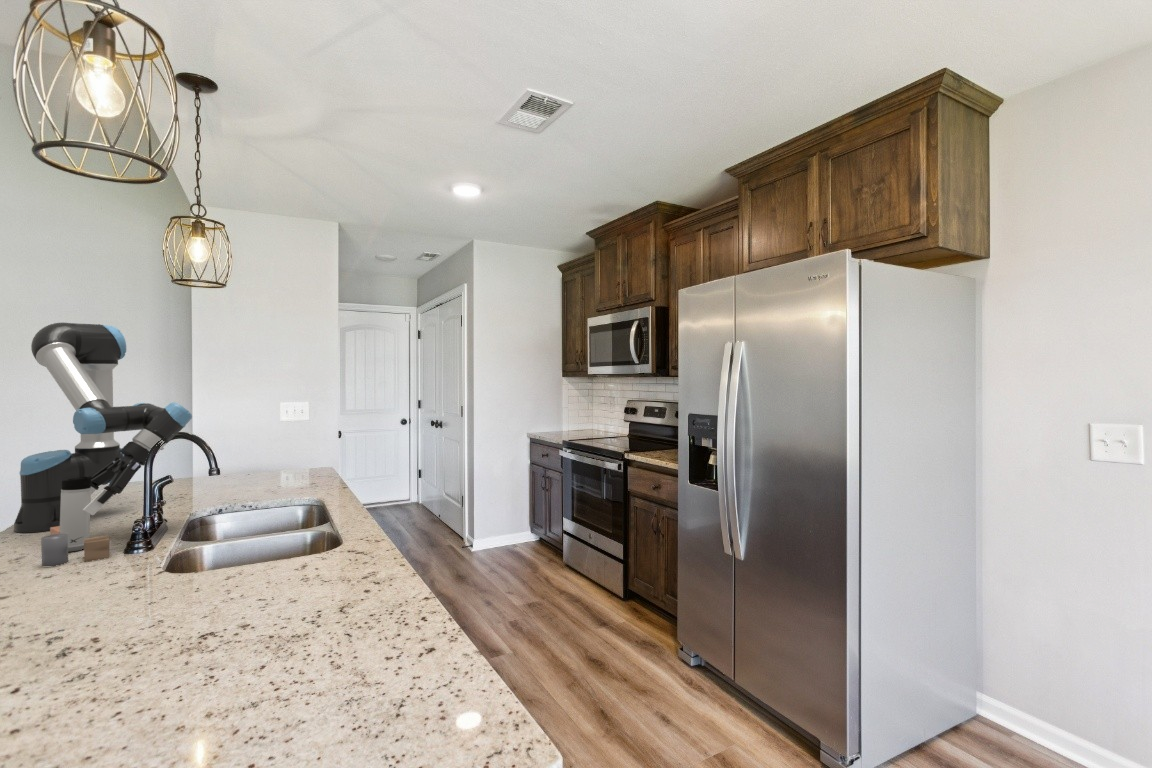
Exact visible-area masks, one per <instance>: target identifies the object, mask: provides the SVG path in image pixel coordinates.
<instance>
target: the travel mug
mask: <svg viewBox="0 0 1152 768" xmlns="http://www.w3.org/2000/svg"><path fill="white" fill-rule="evenodd" d="M91 479H92V476H87V477H80V478H72V479H68V480H62V484H61V486H62V487H61V491H62V492H61V505H60V534H68V553H70V552H77V551H81V550H82V549H83V550H84V539H87V538H91V537H90V530H91V527H90V526H91V514H89V513H87V512H86V511H84V510H83V509H84V508H85V507H86V506H87V505H88V504H89V503H90V502H91V501H92V494H91V490H90V489H91V485H90V484H91Z"/></svg>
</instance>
